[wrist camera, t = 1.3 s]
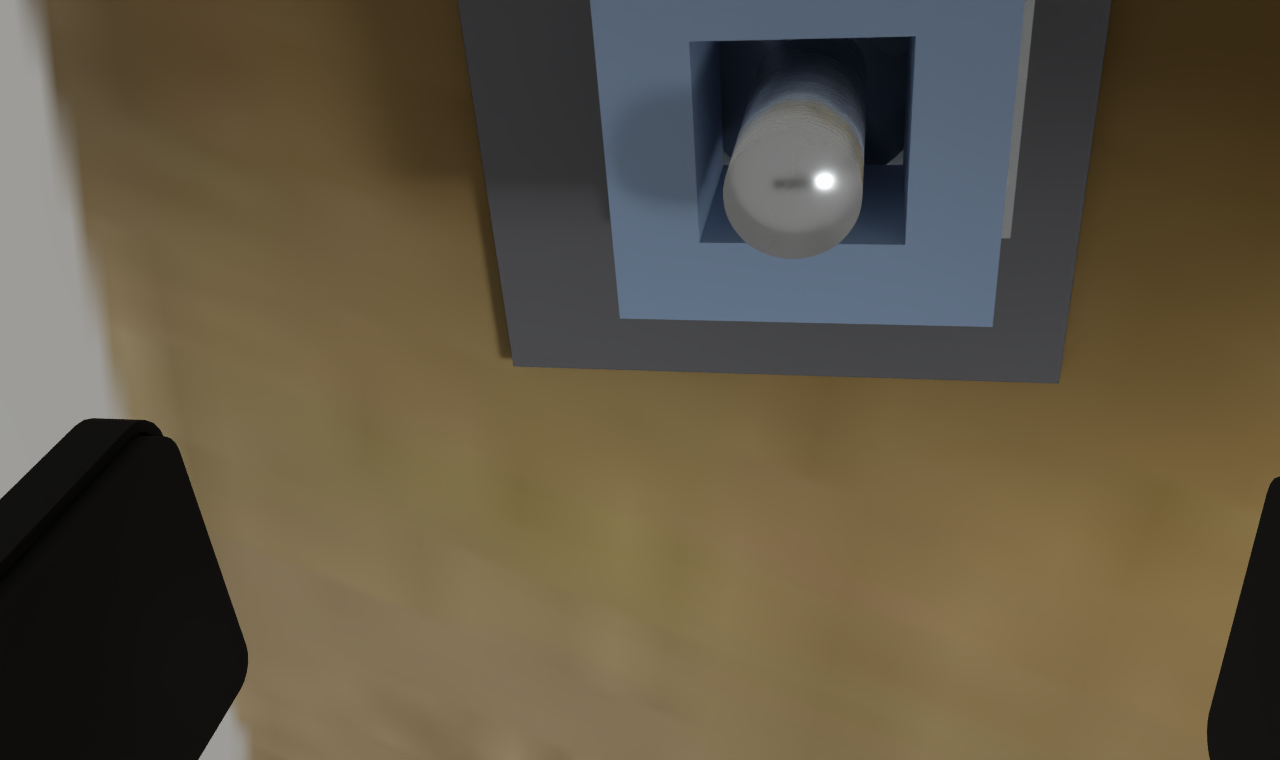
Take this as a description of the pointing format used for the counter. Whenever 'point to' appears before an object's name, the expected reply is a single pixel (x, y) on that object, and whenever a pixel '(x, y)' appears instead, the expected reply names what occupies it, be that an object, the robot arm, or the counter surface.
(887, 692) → the counter surface
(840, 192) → the stand
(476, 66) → the bench mat
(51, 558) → the robot arm
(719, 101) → the square hole block
